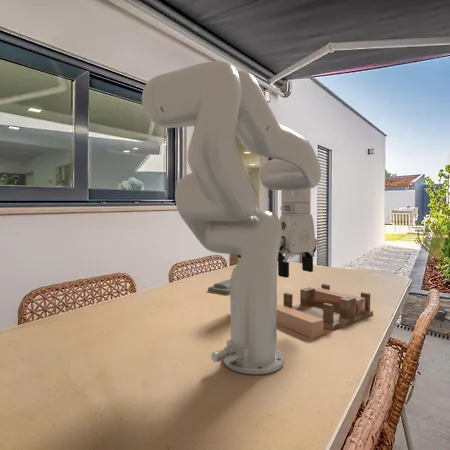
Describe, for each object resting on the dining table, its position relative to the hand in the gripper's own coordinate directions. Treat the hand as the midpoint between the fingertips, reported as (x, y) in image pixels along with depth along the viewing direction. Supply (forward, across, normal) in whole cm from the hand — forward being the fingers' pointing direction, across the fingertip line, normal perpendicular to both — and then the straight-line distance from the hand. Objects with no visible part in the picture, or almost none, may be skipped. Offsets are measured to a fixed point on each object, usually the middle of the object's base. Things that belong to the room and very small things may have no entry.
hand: (295, 273), depth 92 cm
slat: (+14, -1, 0) cm, 14 cm away
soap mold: (+16, +14, +44) cm, 48 cm away
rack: (+14, +15, +1) cm, 21 cm away
